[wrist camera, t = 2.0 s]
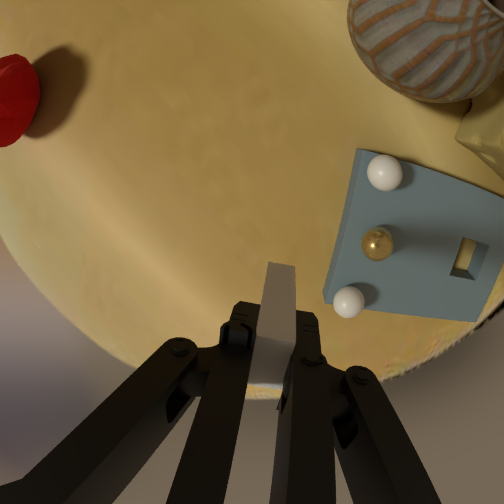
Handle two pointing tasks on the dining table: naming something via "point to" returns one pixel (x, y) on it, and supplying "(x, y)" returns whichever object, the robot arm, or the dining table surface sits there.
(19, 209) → the dining table surface
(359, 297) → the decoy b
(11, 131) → the tomato
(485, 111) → the cheese
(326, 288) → the plate
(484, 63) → the vase
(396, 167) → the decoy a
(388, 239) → the ball
